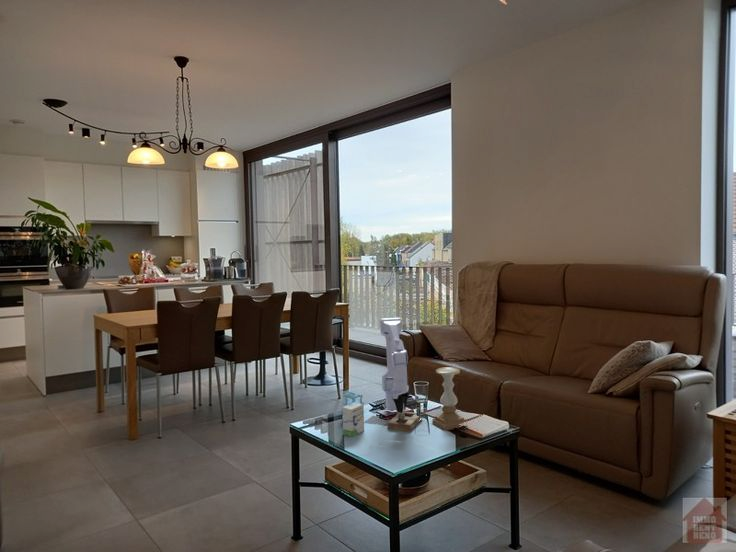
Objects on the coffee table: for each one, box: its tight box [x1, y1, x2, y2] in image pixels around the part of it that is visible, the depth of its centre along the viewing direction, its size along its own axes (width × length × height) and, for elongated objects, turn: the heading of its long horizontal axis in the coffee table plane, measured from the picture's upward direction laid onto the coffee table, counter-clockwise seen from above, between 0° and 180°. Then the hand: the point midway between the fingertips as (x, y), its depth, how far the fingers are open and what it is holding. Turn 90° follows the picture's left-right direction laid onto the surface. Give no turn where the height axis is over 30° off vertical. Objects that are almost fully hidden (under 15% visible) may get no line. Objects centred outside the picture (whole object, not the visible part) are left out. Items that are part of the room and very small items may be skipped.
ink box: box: [342, 403, 365, 438], centre depth 222 cm, size 9×5×12 cm, turn 143°
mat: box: [364, 415, 390, 426], centre depth 236 cm, size 10×10×1 cm
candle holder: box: [432, 366, 467, 431], centre depth 227 cm, size 11×11×24 cm
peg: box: [396, 396, 405, 419], centre depth 226 cm, size 3×3×9 cm
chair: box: [341, 391, 365, 419], centre depth 241 cm, size 8×8×12 cm
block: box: [386, 411, 420, 433], centre depth 230 cm, size 16×10×3 cm, turn 156°
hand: (401, 410), depth 226 cm, fingers closed on peg, 3 cm apart
